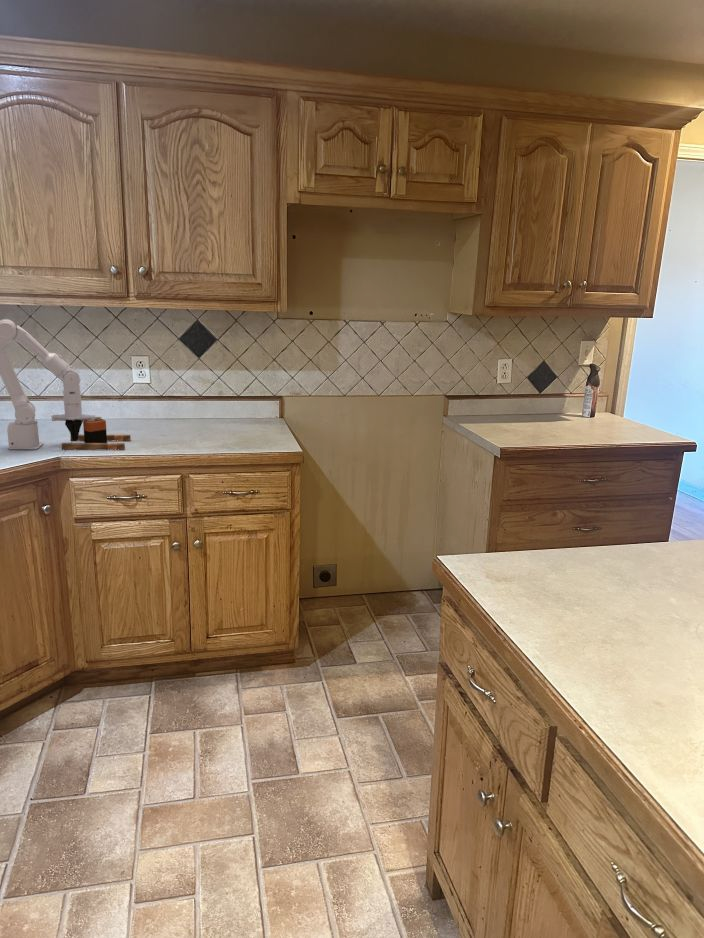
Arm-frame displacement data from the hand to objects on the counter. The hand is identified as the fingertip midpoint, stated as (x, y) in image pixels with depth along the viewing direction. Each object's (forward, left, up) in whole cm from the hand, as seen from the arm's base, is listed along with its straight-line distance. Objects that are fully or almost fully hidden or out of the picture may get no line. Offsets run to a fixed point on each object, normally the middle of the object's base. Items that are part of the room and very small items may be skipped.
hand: (75, 440), depth 245 cm
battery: (+7, 0, -2) cm, 7 cm away
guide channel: (+8, 0, -2) cm, 8 cm away
